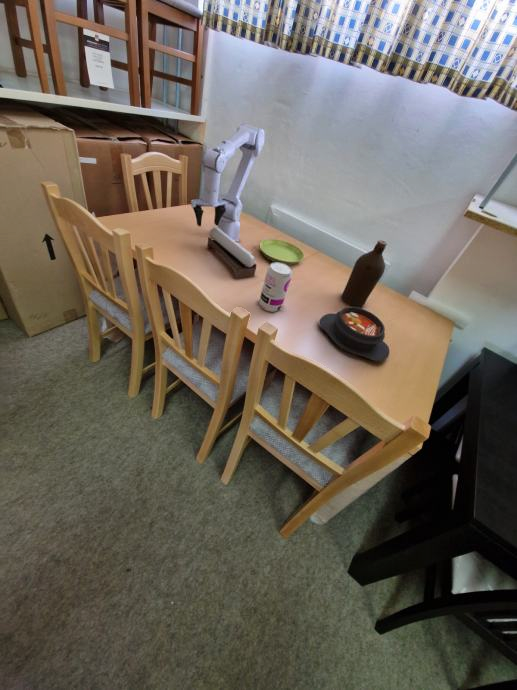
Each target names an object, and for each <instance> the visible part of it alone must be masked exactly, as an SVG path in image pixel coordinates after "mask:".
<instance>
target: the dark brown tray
mask: <svg viewBox="0 0 517 690" xmlns="http://www.w3.org/2000/svg"><path fill="white" fill-rule="evenodd" d="M206 247H207V248H206V250H207V251H215V252H216V253H217V254H218V255H219V256H220V257H221V258H222V259H223V260H224V261H225V262H226V263H227V264H228V265H229V266H230V268H231V269H232V270H233V271H234V276H233V279H234V280H242V279H243V280H244V279H247V278H248V279H249V278H254V277H255V274H256V270H257V265H258V264H256V263H254V265H253V266H251V267H246V266H244V265H243V264H242V263H241V262H240V261H239V260H237V259H236V258H235V257H234V256H233V255H231V254H230V253H229V252H228V251H227V250H226V249H224V248H223V247H222V246H221V245H220V244H218V243H217V242H216V241H215V240H214V239H212V238H211V237H210V236H209V237H207V245H206Z"/></svg>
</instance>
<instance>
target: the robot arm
mask: <svg viewBox="0 0 517 690" xmlns="http://www.w3.org/2000/svg"><path fill="white" fill-rule="evenodd" d="M265 137H266V135H265V130H264V129H263V128H259V127H256V126H253V125H249V124H247V123H245V122H241V123H240V124H239V125H238V126H237V128H236V132H235V133H234V135H232V137H230V138H229V139H225V138H224V139H223V140H222V141H221V142H219V143H218V144H217V145H216V146H215V147H213V148H212V149H211V148H210V149H209V148H208V149H206V150H205V151H204V152H203V154H202V156H201V157H202V158H201V165H202V171H203V185H202V196H201V197H202V198H198V199H191V200H190V206H191V208H192V210H193V212H194V215H195V219H196V225H197V226H198V227H202V219H203V215H204V212H205V211H204V210H203V207H204V208H206V207H207V208H208V207H212V208H214V218H213V219H214V220H213V223H214V226H215V227H219V228H220V229H221V230H222V231H223V232H224V233H225V234H227V235H228V236H229V237H230V238H232V239H233V240H234V241H235V242H239V241H240V239H239V237H240V230H241V224H240V223H241V222H240V217H241V215H242V210H243V204H242V201H241V200H240V197H241V195H242V192H243V190H244V187H245V185H246V182H247V180H248V177H249V175H250V172H251V170H252V167H253V165H254V163H255V160H256V158H257V157H259V156H260V153H261V152H262V149H263V146H264V144H265ZM237 149H239V151H240V152H241V153H242V155H241V158H240V161H239V164H238V166H237V168H236V171H235V173H234V177H233V179H232V181H231V184H230V186H229V189H228V192H227V193H224V194H222V195H221V196H220V198H219V193H220V192H219V191H220V183H221V174H222V172H223V171H224V170H225V166H226V165H227V162H229V160H230V159H232V157H234V155H235V153H236V150H237Z"/></svg>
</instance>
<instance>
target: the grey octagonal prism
mask: <svg viewBox="0 0 517 690" xmlns="http://www.w3.org/2000/svg"><path fill="white" fill-rule="evenodd" d="M209 237H210V238H211V239H212V240H215V241H216V242H217V243H218V244H220V245H221V246H222V247H223V248H224V249H226V250H227V251H228V252H229V253H230V254H231V255H233V256H234V257H235V258H236V259H237V260H239V261H240V262H241V263H242V264H243V265H244V266H246V267H251V266H253V265H254V263H255V262H256V258H255V257H254V255H253V254H252V253H250V252H249V251H248V250H247V249H246V248H244V247H243V246H242V245H241V244H239V243H238V241H234V240H233V239H232V238H230V237H229V236H228V235H227V234H225V233H224V232H223V231H222V230H221V229H220V228H219V227H218V226H213V227H212V228H211V229H210V232H209ZM255 264H256V263H255Z"/></svg>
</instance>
